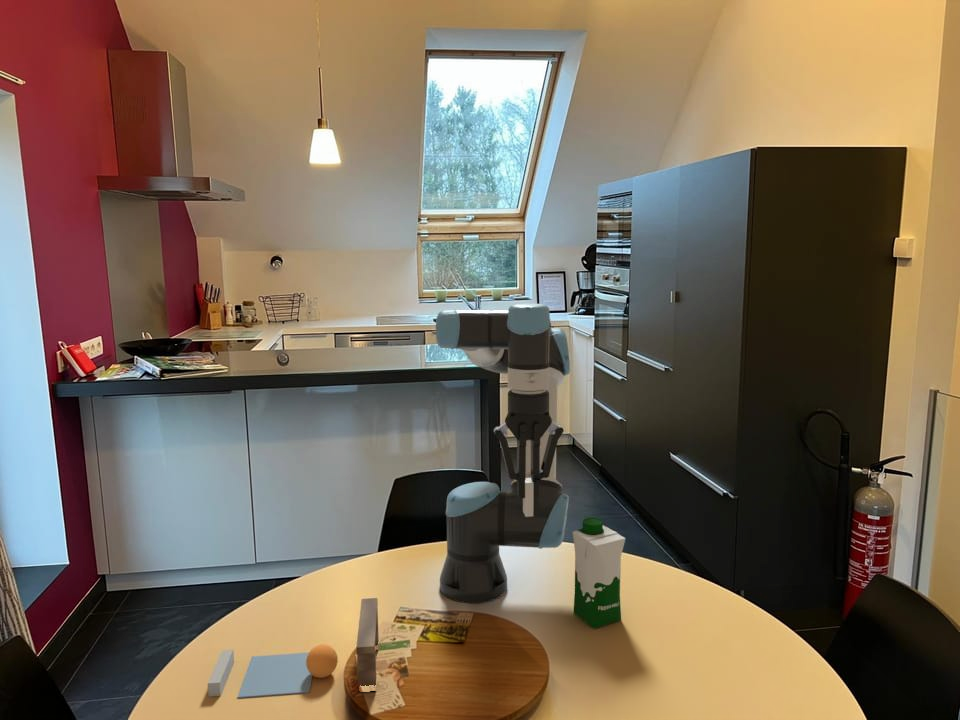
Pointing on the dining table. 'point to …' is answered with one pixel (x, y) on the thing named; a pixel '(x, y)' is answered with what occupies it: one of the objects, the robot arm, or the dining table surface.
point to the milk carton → (597, 573)
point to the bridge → (367, 642)
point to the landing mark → (276, 675)
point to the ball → (321, 661)
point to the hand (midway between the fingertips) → (528, 513)
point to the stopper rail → (221, 673)
